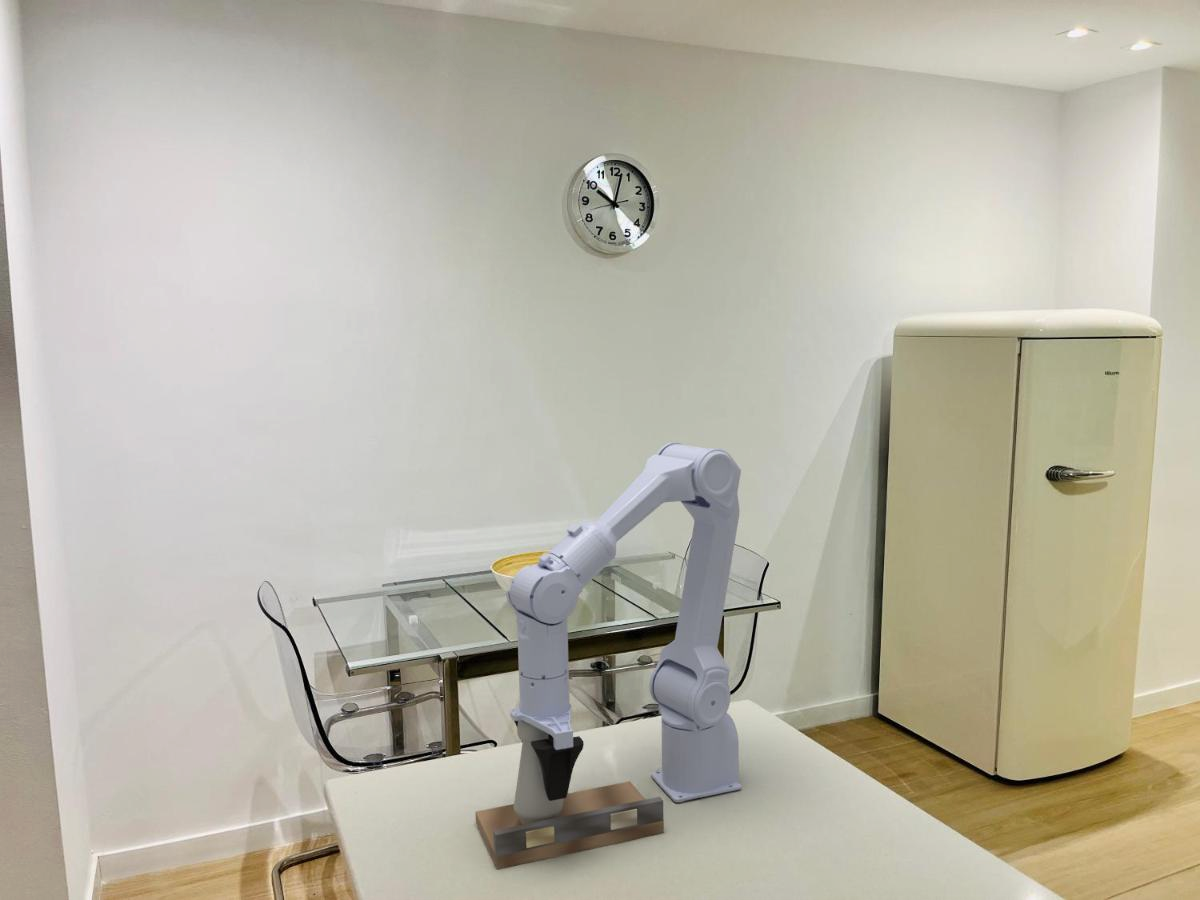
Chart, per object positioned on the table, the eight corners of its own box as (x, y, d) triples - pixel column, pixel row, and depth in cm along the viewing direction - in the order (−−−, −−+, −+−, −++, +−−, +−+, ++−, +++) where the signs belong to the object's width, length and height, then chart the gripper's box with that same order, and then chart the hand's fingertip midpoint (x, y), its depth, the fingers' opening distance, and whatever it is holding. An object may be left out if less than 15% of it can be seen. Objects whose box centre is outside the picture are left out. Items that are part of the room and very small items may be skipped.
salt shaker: (569, 813, 111) (567, 709, 109) (555, 839, 105) (552, 729, 104) (523, 808, 112) (519, 705, 111) (507, 833, 107) (503, 724, 105)
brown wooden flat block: (630, 792, 119) (629, 762, 118) (664, 833, 109) (663, 801, 108) (475, 823, 112) (474, 791, 111) (497, 870, 102) (496, 835, 101)
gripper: (494, 655, 112) (498, 762, 114) (527, 698, 98) (531, 819, 100) (550, 647, 114) (553, 752, 116) (590, 688, 101) (592, 806, 103)
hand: (547, 783), depth 108 cm, fingers open, 7 cm apart
